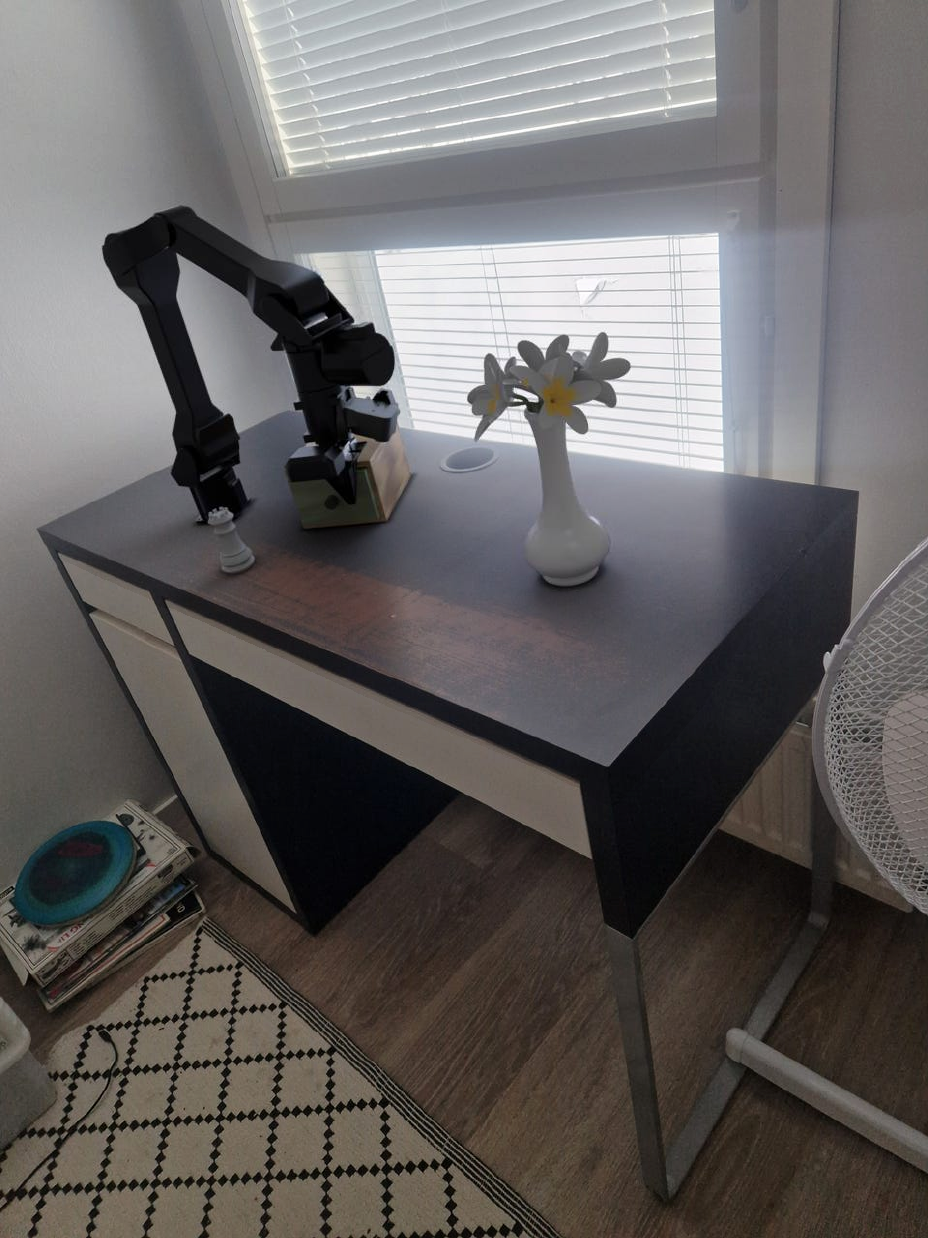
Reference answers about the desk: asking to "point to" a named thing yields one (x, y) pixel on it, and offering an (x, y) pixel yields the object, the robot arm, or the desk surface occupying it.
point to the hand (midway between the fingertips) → (352, 503)
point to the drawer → (334, 502)
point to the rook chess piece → (230, 543)
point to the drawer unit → (382, 472)
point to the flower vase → (555, 445)
